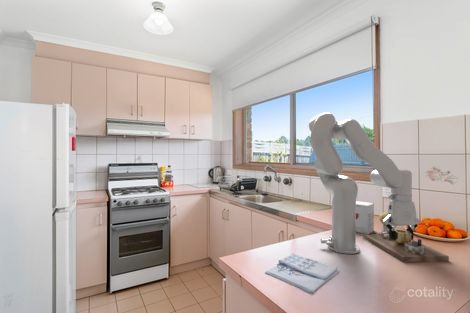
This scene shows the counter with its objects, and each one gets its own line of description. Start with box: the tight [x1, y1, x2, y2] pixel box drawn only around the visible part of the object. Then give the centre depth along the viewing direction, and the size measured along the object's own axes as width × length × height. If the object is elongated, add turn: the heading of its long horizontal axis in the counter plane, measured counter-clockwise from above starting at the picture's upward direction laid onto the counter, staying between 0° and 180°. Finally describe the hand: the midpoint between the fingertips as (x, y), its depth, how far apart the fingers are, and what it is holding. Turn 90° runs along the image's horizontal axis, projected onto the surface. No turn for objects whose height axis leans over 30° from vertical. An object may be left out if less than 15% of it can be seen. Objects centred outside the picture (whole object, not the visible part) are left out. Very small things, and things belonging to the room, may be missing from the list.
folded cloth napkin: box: [264, 253, 340, 295], centre depth 84 cm, size 19×20×2 cm
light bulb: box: [378, 212, 390, 232], centre depth 128 cm, size 6×6×10 cm
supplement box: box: [356, 200, 375, 235], centre depth 129 cm, size 9×9×15 cm
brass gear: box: [393, 228, 411, 243], centre depth 105 cm, size 7×7×4 cm
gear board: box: [363, 230, 450, 263], centre depth 105 cm, size 18×26×6 cm
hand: (401, 238), depth 105 cm, fingers closed on brass gear, 7 cm apart
